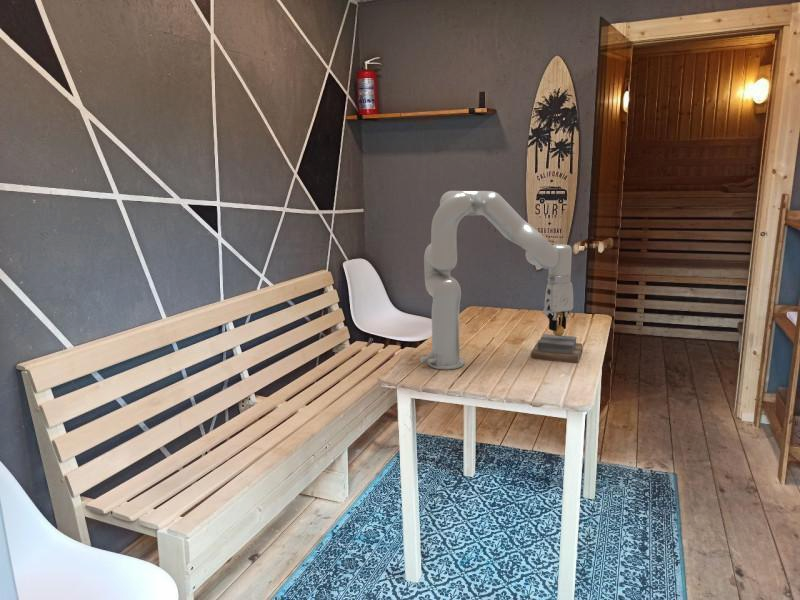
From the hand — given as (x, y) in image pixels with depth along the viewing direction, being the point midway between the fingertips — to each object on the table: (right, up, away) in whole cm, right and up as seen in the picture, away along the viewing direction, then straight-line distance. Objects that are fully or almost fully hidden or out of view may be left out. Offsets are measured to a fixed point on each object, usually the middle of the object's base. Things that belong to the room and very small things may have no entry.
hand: (557, 328), depth 204 cm
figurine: (+1, -3, +1) cm, 3 cm away
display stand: (0, -9, +2) cm, 10 cm away
